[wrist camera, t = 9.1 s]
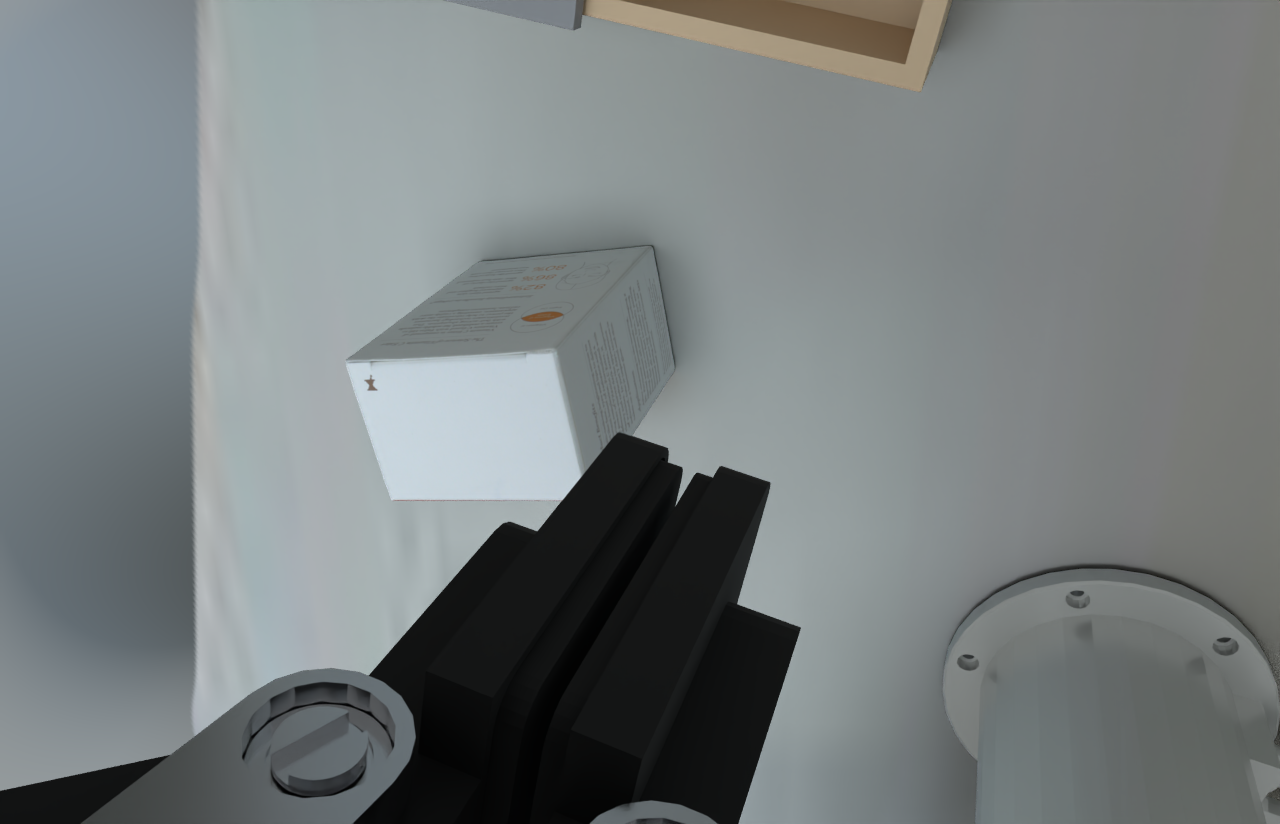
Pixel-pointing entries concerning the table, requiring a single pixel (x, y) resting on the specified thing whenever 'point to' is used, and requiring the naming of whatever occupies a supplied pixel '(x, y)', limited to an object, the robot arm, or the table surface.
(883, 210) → the table surface
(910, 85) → the tray
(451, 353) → the small box
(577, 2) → the lid
